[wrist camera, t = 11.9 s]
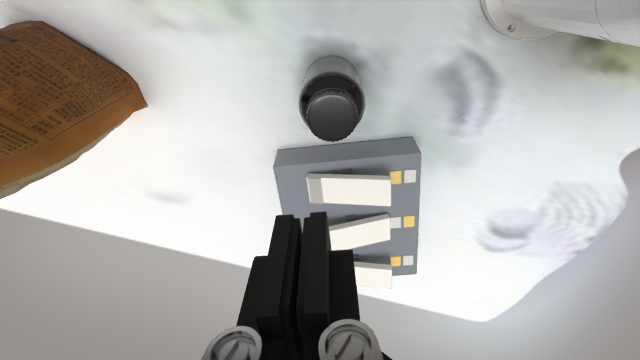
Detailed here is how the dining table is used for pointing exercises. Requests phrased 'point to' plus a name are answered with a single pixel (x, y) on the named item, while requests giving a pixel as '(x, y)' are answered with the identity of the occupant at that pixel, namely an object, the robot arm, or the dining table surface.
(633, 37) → the robot arm
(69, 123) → the pancake mix bag
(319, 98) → the supplement bottle
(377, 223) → the rocker
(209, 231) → the dining table surface
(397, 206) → the console
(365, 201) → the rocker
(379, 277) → the rocker
